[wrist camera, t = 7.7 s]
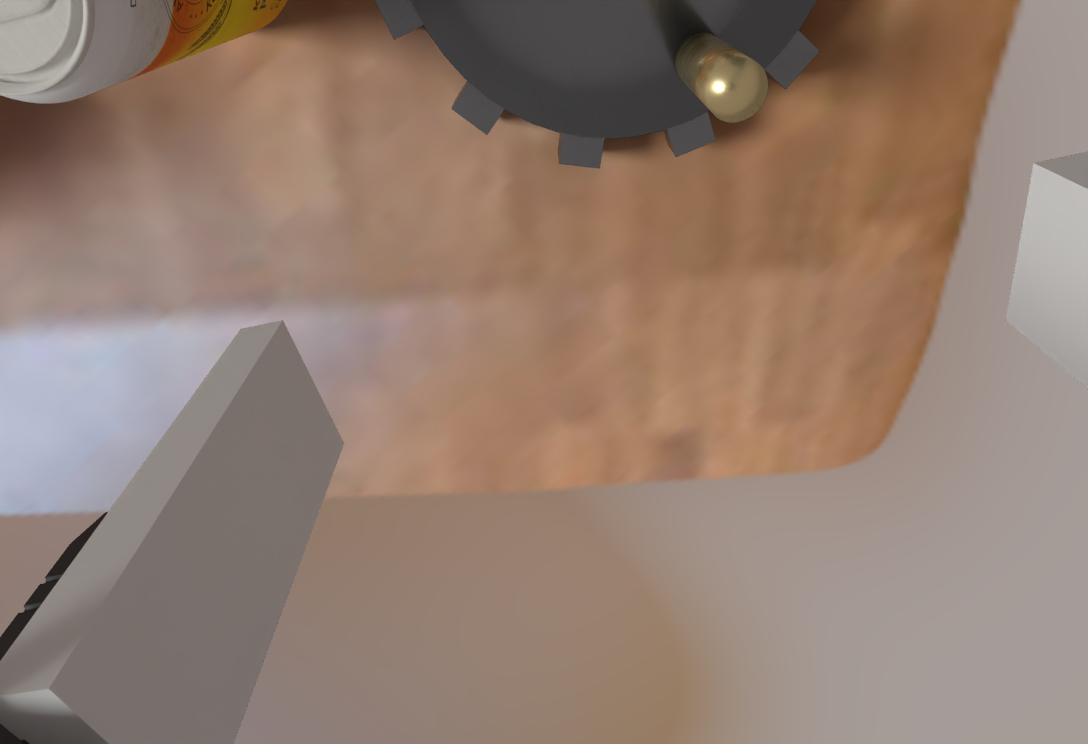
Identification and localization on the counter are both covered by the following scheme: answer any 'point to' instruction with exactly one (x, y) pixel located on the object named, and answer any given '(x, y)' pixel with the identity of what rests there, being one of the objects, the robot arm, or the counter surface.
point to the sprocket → (613, 63)
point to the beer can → (110, 40)
